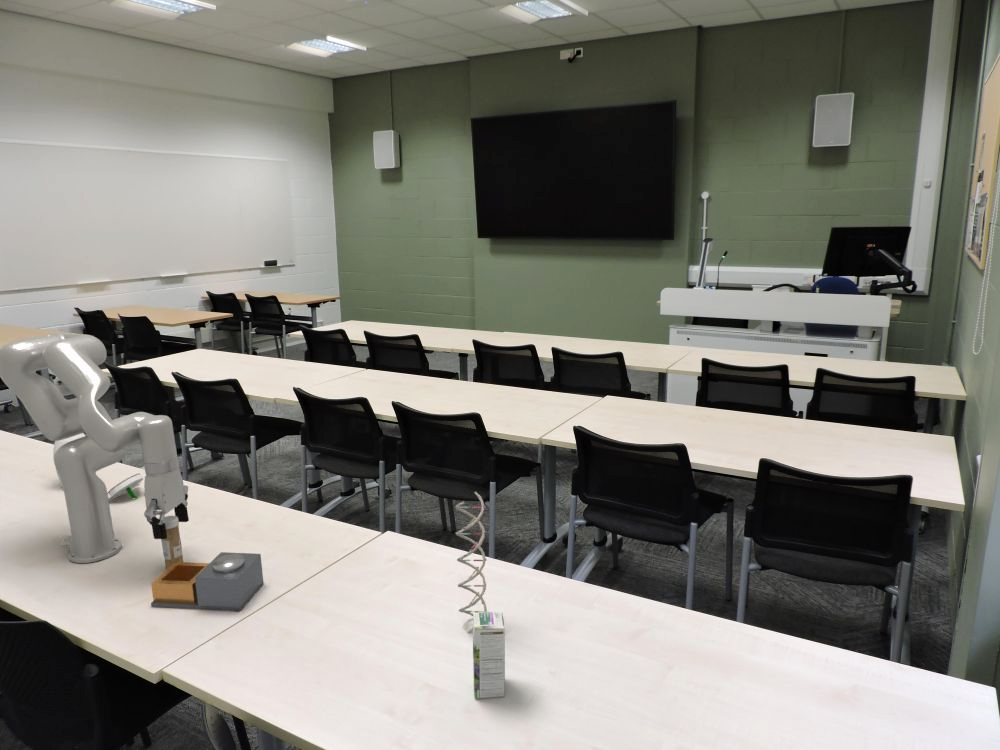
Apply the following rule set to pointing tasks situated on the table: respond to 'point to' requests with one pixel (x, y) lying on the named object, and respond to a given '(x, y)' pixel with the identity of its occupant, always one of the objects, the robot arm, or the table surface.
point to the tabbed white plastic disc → (126, 486)
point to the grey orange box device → (210, 583)
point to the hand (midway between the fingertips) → (171, 529)
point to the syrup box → (488, 654)
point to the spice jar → (172, 542)
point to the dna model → (474, 560)
